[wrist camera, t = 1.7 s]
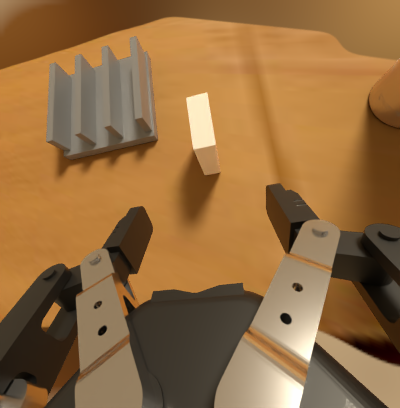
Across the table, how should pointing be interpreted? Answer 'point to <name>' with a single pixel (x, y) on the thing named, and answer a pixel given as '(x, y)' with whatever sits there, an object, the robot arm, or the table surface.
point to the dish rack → (102, 104)
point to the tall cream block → (203, 133)
